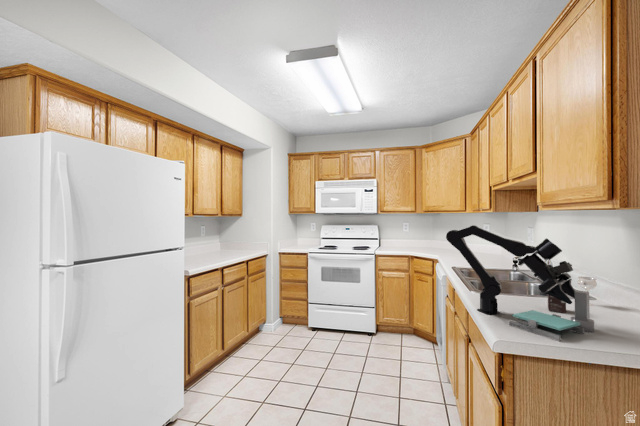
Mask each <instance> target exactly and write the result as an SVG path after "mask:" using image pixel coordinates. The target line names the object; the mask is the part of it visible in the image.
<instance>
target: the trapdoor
mask: <svg viewBox="0 0 640 426" xmlns="http://www.w3.org/2000/svg"><path fill="white" fill-rule="evenodd" d="M512 317H513V318H517V319H518V320H519V321H522V322H529V320H530V319H531V320H534V321H538V326H539V325H540V326H543V327H546V328H550V329H554V330H557V331H563V330H566V329H567V328H571V327H575V326H579V325H580V323H579V322H576V321H572V320H571V319H567V318H563V317H561V318H560V317H557V316H553V315H552V314H549V313H546V312H545V313H544V312H542V311H537V310H533V309H532V310H527V311H524V312H518V313H513V314H512Z"/></svg>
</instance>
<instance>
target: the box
mask: <svg viewBox="0 0 640 426" xmlns="http://www.w3.org/2000/svg"><path fill="white" fill-rule="evenodd" d="M547 309H548V311H549V312H553V313H561V314H563V313H564V314H566V313H567V303H566V302H564V301H561V300H559V299H557V298H555V297H552V296H550V295H548V294H547Z"/></svg>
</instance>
